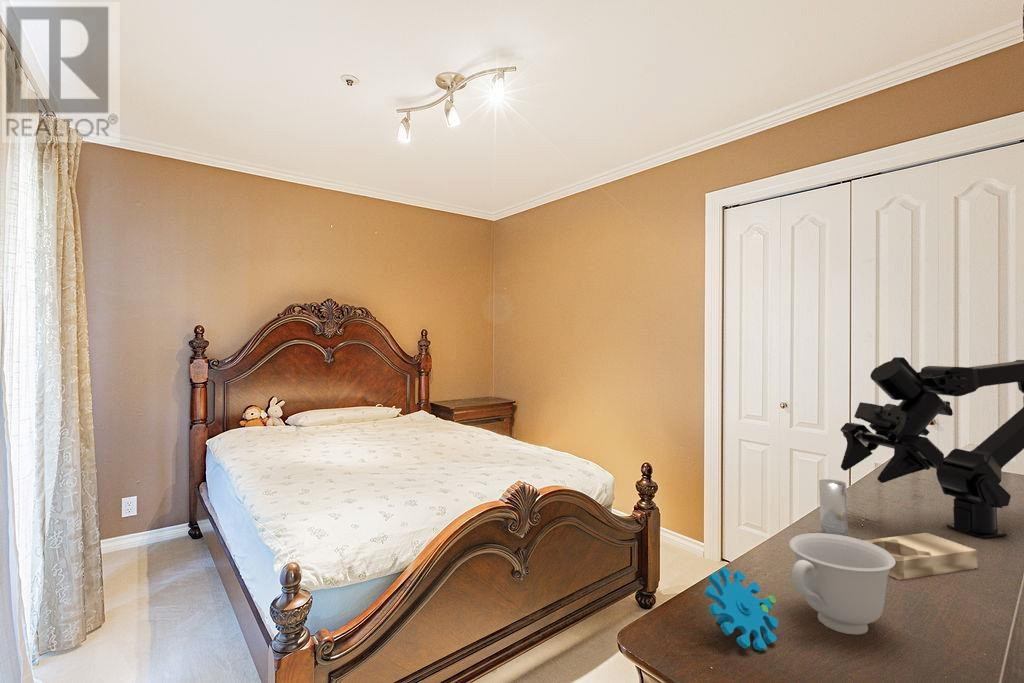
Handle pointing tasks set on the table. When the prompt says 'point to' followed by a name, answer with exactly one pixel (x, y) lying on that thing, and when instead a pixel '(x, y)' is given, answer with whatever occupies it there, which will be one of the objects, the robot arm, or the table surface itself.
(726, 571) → the gear
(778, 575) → the table surface
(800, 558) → the teacup
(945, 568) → the jig
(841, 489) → the translucent cylinder
